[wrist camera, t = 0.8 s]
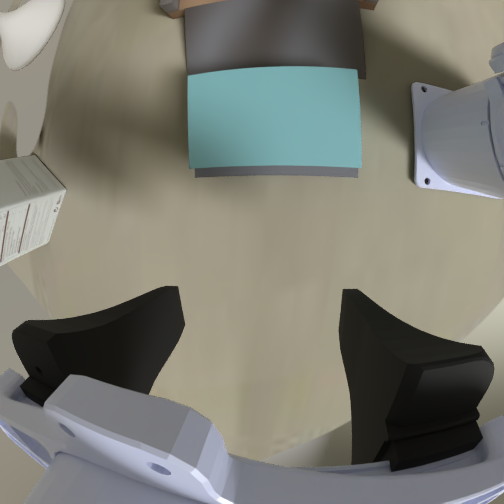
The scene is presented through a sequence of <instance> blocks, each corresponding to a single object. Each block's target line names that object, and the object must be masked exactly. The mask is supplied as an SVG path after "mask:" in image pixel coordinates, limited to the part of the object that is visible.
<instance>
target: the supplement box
mask: <svg viewBox="0 0 504 504" xmlns="http://www.w3.org/2000/svg"><path fill="white" fill-rule="evenodd" d="M65 193H66V188H65V187H64V186H63V185H62V184H61V183H60V182H59V181H58V180H57V179H56V178H55V177H54V176H53V175H52V174H51V172H50V171H49V170H48V169H47V168H46V167H45V166H44V165H43V163H42V162H41V161H40V160H39V159H38V158H37V156H36V155H31V156H23V157H17V158H10V159H4V160H0V266H2V265H4V264H6V263H7V262H9V261H11V260H13V259H15V258H17V257H19V256H21V255H24V254H25V253H28V252H30V251H32V250H34V249H36V248H38V247H40V246H42V245H45V244H47V243H48V242H49V240H50V237H51V234H52V230H53V228H54V224H55V221H56V218H57V215H58V212H59V210H60V207H61V204H62V201H63V198H64V196H65Z"/></svg>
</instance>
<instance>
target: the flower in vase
mask: <svg viewBox="0 0 504 504" xmlns="http://www.w3.org/2000/svg"><path fill="white" fill-rule="evenodd" d="M64 6H65V0H30V1H29V2H27V3H26V4H24V5H23V6H21V7H19V8H18V9H16V10H14V11H11V12H0V37H1V41H2V51H3V58H4V61H5V63H6V66H7V67H8V68H10V69H11V70H13V71H17V70H20V69H22V68H24V67H25V66H27V65H28V64H30V63H31V62H32V61H33V60H34V59H35V58H36V57H37V56H38V55H39V53H40V52H41V51H42V50H43V48H44V47H45V45H46V44H47V43H48V41H49V39H50V38H51V36H52V34H53V33H54V31H55V29H56V27H57V25H58V23H59V21H60V19H61V16H62V14H63V11H64Z"/></svg>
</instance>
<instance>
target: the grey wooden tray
mask: <svg viewBox="0 0 504 504" xmlns="http://www.w3.org/2000/svg"><path fill="white" fill-rule="evenodd" d="M377 2H378V0H160V4H159V6H160V7H161V8H162V9H163V10H164V11H165V12H166V13H167V14H169V15H170V16H171V17H172V18H173V19H175V18H179V17H183V16H185V36H186V57H187V73H188V76H189V75H195V74H202V73H208V72H215V71H223V70H233V69H243V68H257V67H280V66H309V67H332V68H345V69H356V70H357V74H358V79H366V72H365V56H364V44H363V34H362V25H361V17H360V10H359V8H363V9H370V10H374V8H375V6H376V4H377Z"/></svg>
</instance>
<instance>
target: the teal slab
mask: <svg viewBox="0 0 504 504" xmlns="http://www.w3.org/2000/svg"><path fill="white" fill-rule="evenodd" d="M188 147H189V169H193V168H195V178H197V177H217V176H248V175H303V176H334V177H354V178H358V168H361V166H362V151H361V115H360V98H359V85H358V74H357V70H356V69H345V68H332V67H309V66H280V67H257V68H243V69H233V70H223V71H215V72H208V73H202V74H195V75H189V76H188Z"/></svg>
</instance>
